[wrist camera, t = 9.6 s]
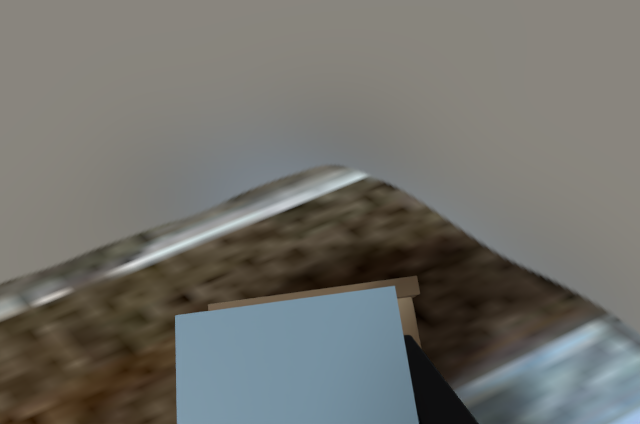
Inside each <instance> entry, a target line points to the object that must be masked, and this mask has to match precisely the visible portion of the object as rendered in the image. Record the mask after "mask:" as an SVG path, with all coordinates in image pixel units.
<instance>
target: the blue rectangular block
mask: <svg viewBox="0 0 640 424" xmlns="http://www.w3.org/2000/svg"><path fill="white" fill-rule="evenodd" d="M175 331H176V389H177V424H419V422H418V416H417V410H416V404H415V399H414V393H413V387H412V382H411V376H410V370H409V364H408V359H407V353H406V347H405V341H404V336H403V330H402V324H401V318H400V313H399V307H398V301H397V296H396V290H395V286H389V287H382V288H375V289H367V290H360V291H353V292H345V293H338V294H330V295H323V296H316V297H308V298H301V299H294V300H286V301H279V302H272V303H264V304H257V305H249V306H242V307H235V308H227V309H220V310H213V311H205V312H198V313H191V314H183V315H176V316H175Z"/></svg>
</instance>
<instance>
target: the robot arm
mask: <svg viewBox="0 0 640 424" xmlns="http://www.w3.org/2000/svg"><path fill="white" fill-rule="evenodd" d="M403 336H404V341H405V347H406V353H407V359H408V364H409V370H410V376H411V382H412V387H413V393H414V399H415V404H416V410H417V416H418V422H419V424H479V423H478V422H477V421H476V420H475V418H474V417H473V416H472V414H471V413H470V412H469V410H468V409H467V408H466V406H465V405H464V404H463V403H462V401H461V400H460V399H459V397H458V396H457V395H456V393H455V392H454V391H453V389H452V388H451V387H450V386H449V384H448V383H447V382H446V380H445V379H444V378H443V376H442V375H441V374H440V372H439V371H438V370H437V369H436V367H435V366H434V365H433V363H432V362H431V361H430V359H429V358H428V357H427V355H426V354H425V353H424V352H423V350H422V349H421V348H420V346H419V345H418V344H417V342H416V341H415V340H414V338H413V337H412V336H411V335H403Z"/></svg>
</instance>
